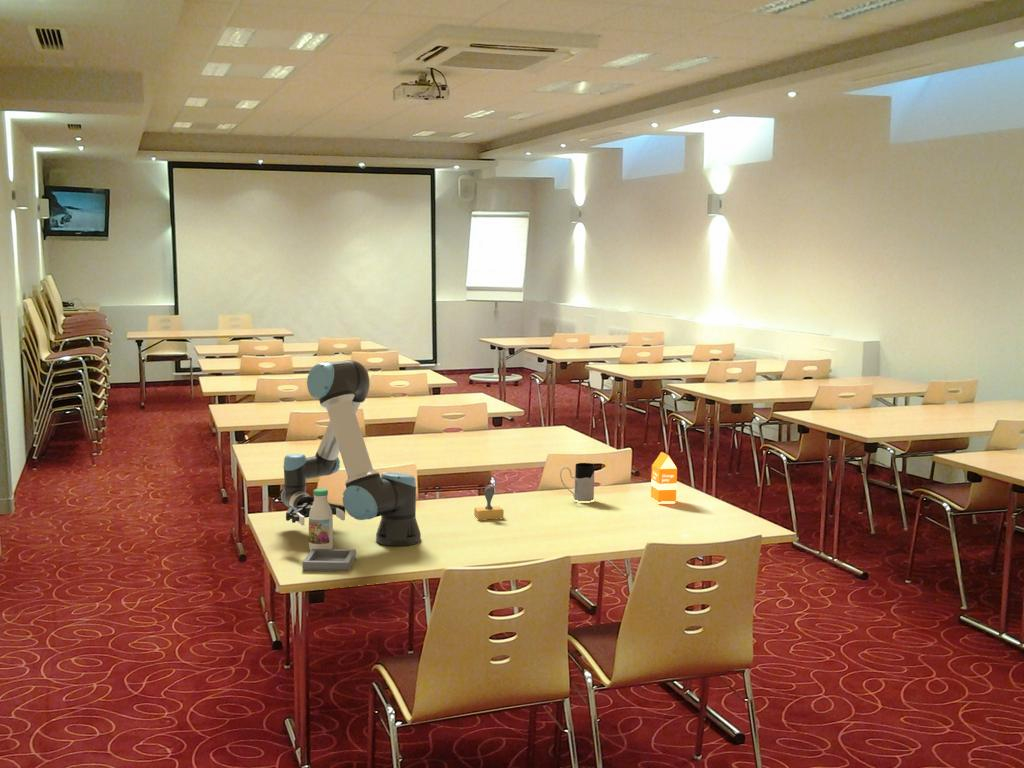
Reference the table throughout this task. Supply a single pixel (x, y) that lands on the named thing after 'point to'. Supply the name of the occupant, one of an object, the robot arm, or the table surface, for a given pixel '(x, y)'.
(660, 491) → the orange juice
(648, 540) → the table surface
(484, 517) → the rubber stamp
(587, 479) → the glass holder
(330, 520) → the milk bottle
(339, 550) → the tray
